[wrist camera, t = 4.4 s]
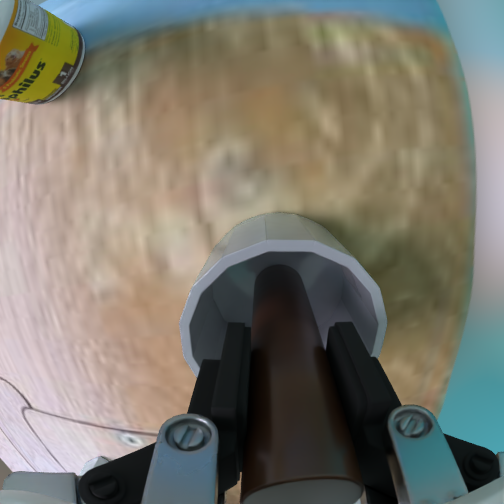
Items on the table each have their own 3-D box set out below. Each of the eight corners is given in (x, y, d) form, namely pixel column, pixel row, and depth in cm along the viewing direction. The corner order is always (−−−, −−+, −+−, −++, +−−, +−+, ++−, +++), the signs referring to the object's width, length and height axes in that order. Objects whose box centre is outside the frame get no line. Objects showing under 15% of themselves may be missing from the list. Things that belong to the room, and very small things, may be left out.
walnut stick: (254, 263, 16) (237, 478, 4) (304, 263, 15) (381, 467, 4) (254, 308, 16) (240, 523, 5) (301, 308, 16) (348, 516, 5)
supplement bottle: (28, 119, 14) (-94, 116, 4) (27, 53, 12) (-76, 25, 3) (92, 83, 13) (-40, 40, 4) (88, 15, 12) (-11, -48, 2)
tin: (204, 212, 15) (170, 239, 10) (352, 214, 15) (401, 242, 9) (210, 341, 18) (192, 411, 12) (338, 341, 17) (364, 408, 12)
